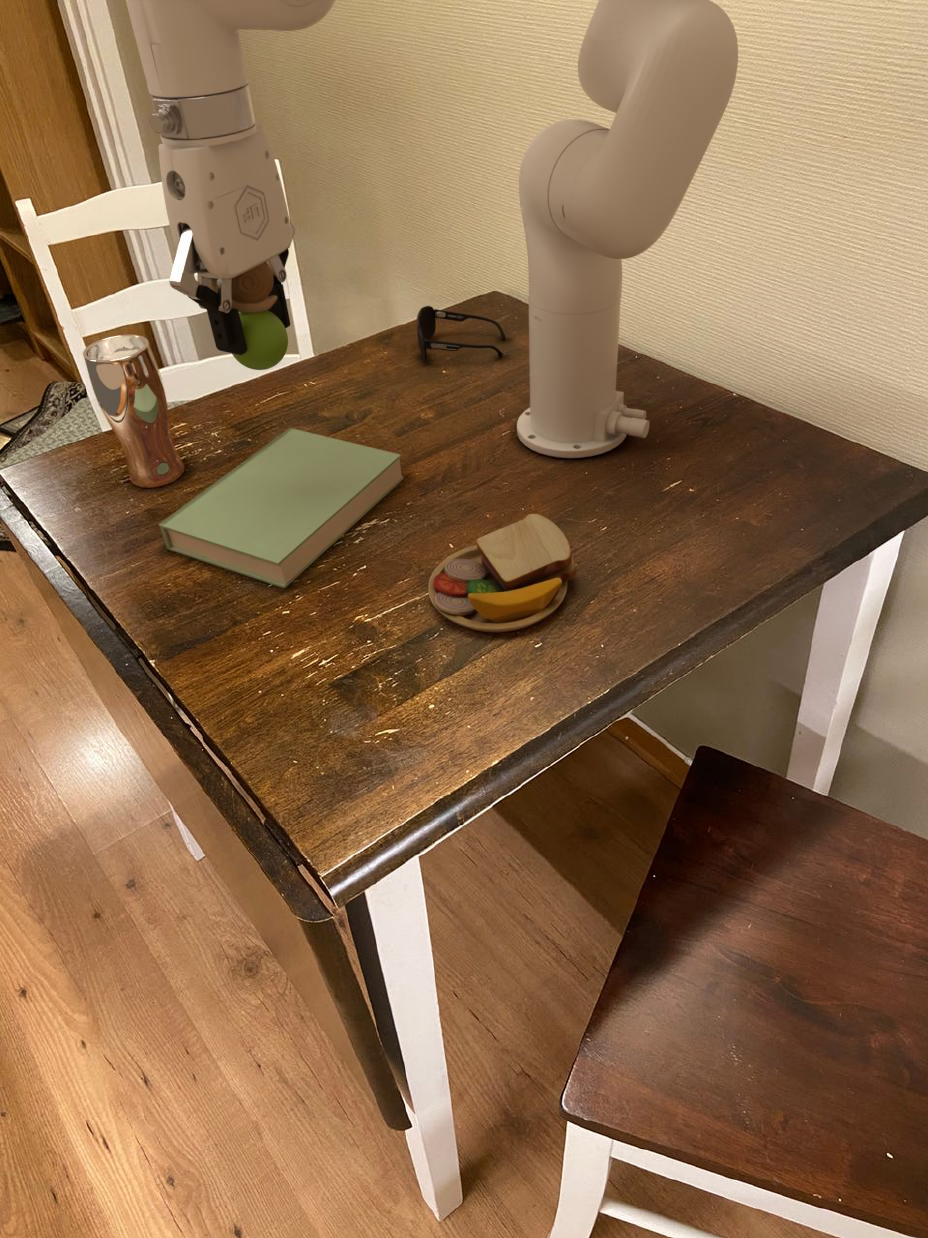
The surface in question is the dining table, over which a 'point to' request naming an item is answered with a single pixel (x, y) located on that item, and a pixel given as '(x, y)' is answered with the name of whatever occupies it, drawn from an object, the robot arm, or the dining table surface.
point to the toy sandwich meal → (505, 577)
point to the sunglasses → (428, 326)
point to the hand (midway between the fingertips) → (254, 336)
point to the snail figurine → (258, 318)
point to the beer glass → (135, 407)
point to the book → (283, 506)
